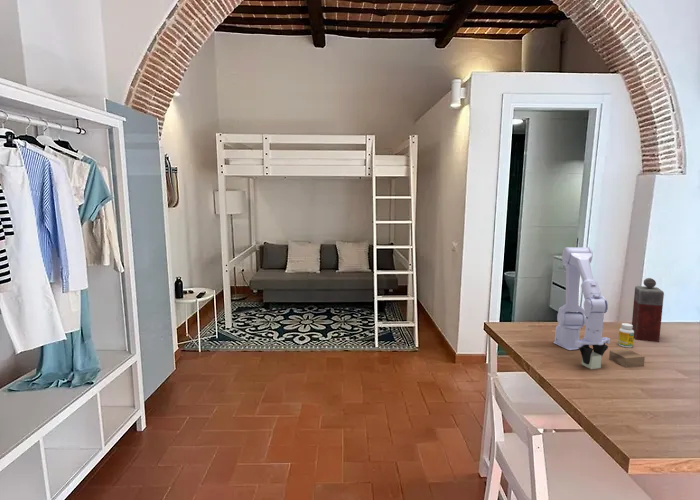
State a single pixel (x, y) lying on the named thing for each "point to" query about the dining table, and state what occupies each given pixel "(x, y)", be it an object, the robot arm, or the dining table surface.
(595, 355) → the sage block
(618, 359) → the walnut block
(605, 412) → the dining table surface
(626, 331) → the supplement bottle
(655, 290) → the red lidded box
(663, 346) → the dining table surface
